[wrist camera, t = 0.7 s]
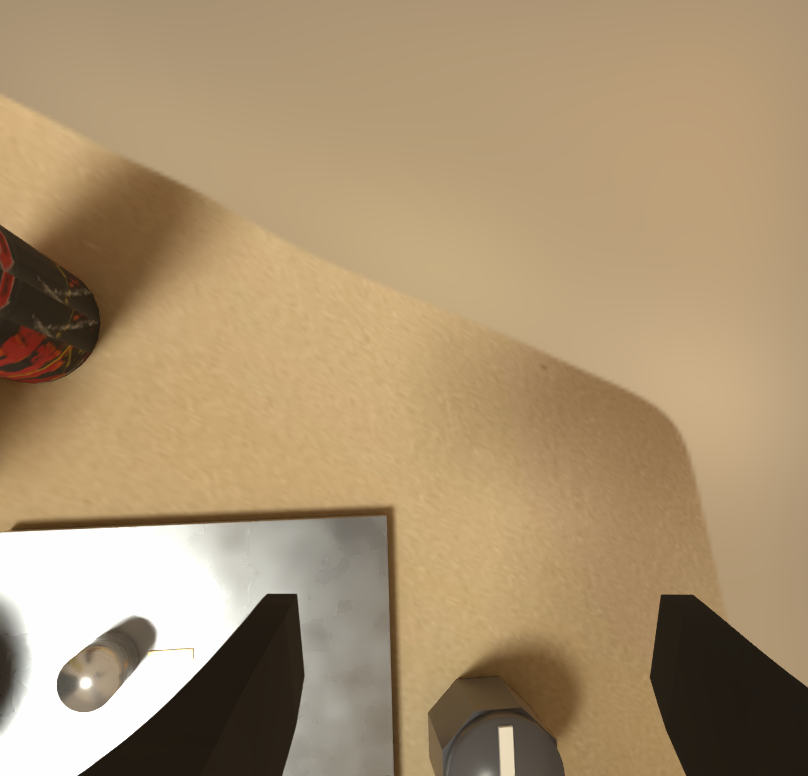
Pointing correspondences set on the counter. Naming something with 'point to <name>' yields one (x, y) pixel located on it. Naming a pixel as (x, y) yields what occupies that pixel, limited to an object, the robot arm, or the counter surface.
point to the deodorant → (41, 315)
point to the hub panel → (189, 633)
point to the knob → (489, 733)
